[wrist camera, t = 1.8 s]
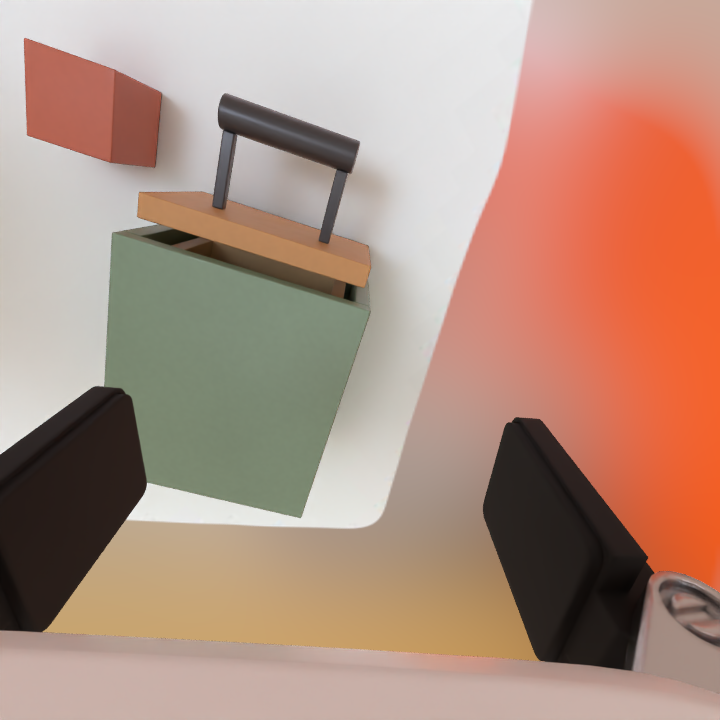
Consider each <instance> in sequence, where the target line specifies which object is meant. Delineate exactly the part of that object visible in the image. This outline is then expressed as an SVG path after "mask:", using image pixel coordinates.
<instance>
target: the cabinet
mask: <svg viewBox="0 0 720 720" xmlns="http://www.w3.org/2000/svg"><path fill="white" fill-rule="evenodd" d="M196 238H199V236H195V235H192V234H189V233H186V232H183V231H179V230H176V229H173V228H170V227H167V226H163V225H154V226H148V227H142V228H136V229H130V230H124V231H119V232H113V233H112V245H111V265H110V285H109V304H108V324H107V344H106V364H105V383H104V387H113V388H121V389H123V390H124V391H125V393H126V394H128V395H130V396H131V398H132V401H133V406H134V412H135V417H136V423H137V428H138V434H139V439H140V445H141V451H142V456H143V462H144V467H145V473H146V478H147V483H152V484H156V485H160V486H165V487H169V488H173V489H178V490H182V491H186V492H190V493H195V494H199V495H203V496H208V497H212V498H216V499H221V500H225V501H229V502H233V503H238V504H242V505H246V506H251V507H255V508H259V509H263V510H268V511H272V512H276V513H281V514H285V515H289V516H294V517H298V518H301V517H302V514H303V511H304V508H305V505H306V502H307V499H308V496H309V493H310V490H311V487H312V484H313V481H314V478H315V475H316V472H317V469H318V466H319V463H320V460H321V457H322V454H323V451H324V448H325V446H326V443H327V440H328V437H329V434H330V431H331V428H332V425H333V422H334V419H335V416H336V413H337V410H338V407H339V404H340V401H341V398H342V395H343V392H344V389H345V386H346V383H347V380H348V377H349V374H350V372H351V369H352V366H353V363H354V360H355V357H356V354H357V351H358V348H359V345H360V342H361V339H362V336H363V333H364V330H365V327H366V324H367V321H368V318H369V315H370V301H369V288H368V279H367V282H366V285H365V287H364V288H362V287H358V286H355V285H352V284H349V283H346V286H345V293H344V299H343V298H340V297H336V296H333V295H330V294H327V293H323V292H320V291H317V290H314V289H310V288H307V287H304V286H301V285H297V284H294V283H291V282H288V281H284V280H281V279H278V278H275V277H271V276H268V275H265V274H262V273H258V272H255V271H252V270H249V269H245V268H242V267H239V266H236V265H232V264H229V263H226V262H223V261H219V260H216V259H213V258H209V257H206V256H203V255H200V254H196V253H193V252H190V251H187V250H183V249H180V248H177V247H174V246H172V245H175V244H179V243H182V242H185V241H189V240H192V239H196Z"/></svg>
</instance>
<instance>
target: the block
mask: <svg viewBox="0 0 720 720" xmlns="http://www.w3.org/2000/svg"><path fill="white" fill-rule="evenodd" d="M24 55H25V86H26V118H27V135H28V136H30V137H33V138H36V139H40V140H43V141H46V142H49V143H52V144H55V145H58V146H61V147H64V148H67V149H70V150H73V151H76V152H79V153H82V154H85V155H89V156H92V157H95V158H98V159H101V160H104V161H107V162H110V163H118V164H127V165H136V166H145V167H155V162H156V151H157V139H158V128H159V117H160V105H161V92H159V91H157V90H155V89H153V88H151V87H149V86H147V85H145V84H143V83H141V82H139V81H137V80H135V79H133V78H131V77H129V76H126V75H124V74H122V73H120V72H118V71H116V70H114V69H111V68H108V67H106V66H103V65H100V64H97V63H94V62H92V61H89V60H86V59H83V58H80V57H77V56H75V55H72V54H69V53H66V52H63V51H61V50H58V49H55V48H52V47H49V46H47V45H44V44H41V43H38V42H35V41H32V40H30V39H27V38H24Z"/></svg>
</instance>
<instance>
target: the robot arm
mask: <svg viewBox="0 0 720 720" xmlns="http://www.w3.org/2000/svg"><path fill="white" fill-rule="evenodd" d="M146 486H147V478H146V473H145V467H144V462H143V456H142V451H141V445H140V439H139V434H138V428H137V423H136V417H135V412H134V406H133V401H132V398H131V396H130V395H128V394H126V393H125V391H124V390H123V389H121V388H113V387H100V386H95V387H93V388H91V389H90V390H88V391H87V392H85V393H84V394H83V395H81V396H80V397H79V398H77V399H76V400H74V401H73V402H72V403H70V404H69V405H68V406H66V407H65V408H63V409H62V410H61V411H59V412H58V413H57V414H55V415H54V416H53V417H51V418H50V419H48V420H47V421H46V422H44V423H43V424H42V425H40V426H39V427H37V428H36V429H35V430H33V431H32V432H31V433H29V434H28V435H26V436H25V437H24V438H22V439H21V440H20V441H18V442H17V443H16V444H14V445H13V446H11V447H10V448H9V449H7V450H6V451H5V452H3V453H2V454H0V720H720V593H719V592H718V591H716V590H715V589H713V588H711V587H710V586H708V585H706V584H704V583H703V582H701V581H699V580H697V579H694V578H692V577H690V576H687V575H685V574H681V573H676V572H672V571H659V572H657V573H654V572H653V571H652V569H651V568H650V566H649V565H648V564H647V563H646V560H647V559H648V556H647V555H646V554H645V553H644V551H643V550H642V549H641V548H640V546H639V545H638V544H637V542H636V541H635V540H634V538H633V537H632V536H631V535H630V534H629V532H628V531H627V529H626V528H625V527H624V526H623V524H622V523H621V522H620V521H619V519H618V518H617V517H616V515H615V514H614V513H613V511H612V510H611V509H610V508H609V506H608V505H607V504H606V503H605V501H604V500H603V499H602V497H601V496H600V495H599V494H598V492H597V491H596V490H595V488H594V487H593V486H592V485H591V483H590V482H589V481H588V479H587V478H586V477H585V476H584V474H583V473H582V472H581V471H580V469H579V468H578V467H577V465H576V464H575V463H574V462H573V460H572V459H571V458H570V456H569V455H568V454H567V453H566V451H565V450H564V449H563V447H562V446H561V445H560V444H559V442H558V441H557V440H556V438H555V437H554V436H553V435H552V433H551V432H550V431H549V429H548V428H547V427H546V426H545V424H544V423H543V422H542V421H541V420H540V419H532V418H518V417H516V418H514V420H513V421H512V423H507V424H506V425H505V428H504V431H503V435H502V439H501V442H500V446H499V449H498V453H497V456H496V460H495V464H494V467H493V471H492V474H491V478H490V482H489V485H488V489H487V492H486V496H485V500H484V504H483V514H484V519H485V521H486V524H487V527H488V529H489V532H490V535H491V538H492V540H493V543H494V546H495V548H496V551H497V554H498V556H499V559H500V562H501V564H502V567H503V570H504V572H505V575H506V578H507V580H508V583H509V586H510V589H511V591H512V594H513V596H514V599H515V602H516V605H517V607H518V610H519V613H520V615H521V618H522V621H523V623H524V626H525V629H526V631H527V634H528V637H529V640H530V642H531V645H532V648H533V650H534V653H535V655H536V656H537V658H538V659H539V660H540V661H529V660H516V659H504V658H490V657H474V656H458V655H442V654H426V653H409V652H394V651H376V650H361V649H345V648H327V647H310V646H309V647H308V646H292V645H274V644H257V643H239V642H220V641H202V640H184V639H166V638H165V639H164V638H146V637H125V636H106V635H86V634H66V633H46V632H44V633H43V631H44V630H45V629H47V628H48V626H49V625H50V624H51V623H52V621H53V620H54V619H55V617H56V616H57V615H58V613H59V612H60V610H61V609H62V608H63V606H64V605H65V603H66V602H67V601H68V599H69V598H70V596H71V595H72V594H73V592H74V591H75V589H76V588H77V587H78V585H79V584H80V582H81V581H82V580H83V578H84V577H85V576H86V574H87V573H88V571H89V570H90V569H91V567H92V566H93V564H94V563H95V562H96V560H97V559H98V557H99V556H100V554H101V553H102V552H103V551H104V549H105V548H106V546H107V545H108V544H109V542H110V541H111V539H112V538H113V537H114V535H115V534H116V532H117V531H118V530H119V528H120V527H121V525H122V524H123V523H124V521H125V520H126V519H127V517H128V516H129V514H130V513H131V512H132V510H133V509H134V507H135V506H136V505H137V503H138V502H139V500H140V499H141V498H142V496H143V495H144V493H145V490H146ZM541 661H545V662H541Z"/></svg>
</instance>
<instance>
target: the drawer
mask: <svg viewBox="0 0 720 720" xmlns="http://www.w3.org/2000/svg"><path fill="white" fill-rule="evenodd" d="M218 123H219V126H220V128H221V129H222V130H223V135H222V141H221V148H220V155H219V162H218V169H217V175H216V182H215V189H214V195H211V194H208V193H205V192H139V199H138V213H137V217H138V218H141V219H144V220H147V221H151V222H154V223H157V224H160V225H163V226H167V227H170V228H173V229H176V230H179V231H183V232H186V233H189V234H192V235H195V236H199V238H196V239H192V240H189V241H185V242H182V243H179V244H175V245H172V246H174V247H177V248H180V249H183V250H187V251H190V252H193V253H196V254H200V255H203V256H206V257H209V258H213V259H216V260H219V261H223V262H226V263H229V264H232V265H236V266H239V267H242V268H245V269H249V270H252V271H255V272H258V273H262V274H265V275H268V276H271V277H275V278H278V279H281V280H284V281H288V282H291V283H294V284H297V285H301V286H304V287H307V288H310V289H314V290H317V291H320V292H323V293H327V294H330V295H333V296H336V297H340V298H343V299H344V293H345V286H346V283H349V284H352V285H355V286H358V287H362V288H364V287H365V285H366V282H367V279H368V276H369V273H370V269H371V262H370V255H369V247H368V246H367V245H364V244H361V243H358V242H355V241H352V240H349V239H346V238H343V237H340V236H337V235H334V234H332V230H333V227H334V223H335V219H336V216H337V212H338V208H339V205H340V201H341V197H342V194H343V190H344V186H345V183H346V179H347V175H348V173H349V174H351V173H352V171H353V168H354V165H355V161H356V158H357V154H358V150H359V146H360V142H359V141H357V140H354V139H352V138H349V137H346V136H343V135H341V134H338V133H335V132H332V131H329V130H327V129H324V128H321V127H318V126H316V125H313V124H310V123H307V122H304V121H302V120H299V119H296V118H293V117H291V116H288V115H285V114H282V113H279V112H277V111H274V110H271V109H268V108H266V107H263V106H260V105H257V104H254V103H252V102H249V101H246V100H243V99H241V98H238V97H235V96H232V95H229V94H224V95H223V96H222V98H221V100H220V103H219V108H218ZM236 134H237V135H240V136H243V137H245V138H248V139H251V140H254V141H257V142H260V143H263V144H265V145H268V146H271V147H274V148H277V149H280V150H283V151H286V152H288V153H291V154H294V155H297V156H300V157H303V158H306V159H309V160H311V161H314V162H317V163H320V164H323V165H326V166H329V167H331V168H334V169H337V170H336V174H335V178H334V182H333V186H332V190H331V193H330V197H329V201H328V205H327V209H326V213H325V217H324V220H323V224H322V228H321V230H318V229H315V228H312V227H309V226H306V225H303V224H300V223H297V222H294V221H291V220H288V219H285V218H282V217H279V216H275V215H272V214H269V213H266V212H263V211H260V210H257V209H254V208H251V207H248V206H245V205H242V204H239V203H236V202H233V201H230V200H227V197H228V191H229V185H230V179H231V173H232V166H233V160H234V154H235V148H236V141H237V135H236Z"/></svg>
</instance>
